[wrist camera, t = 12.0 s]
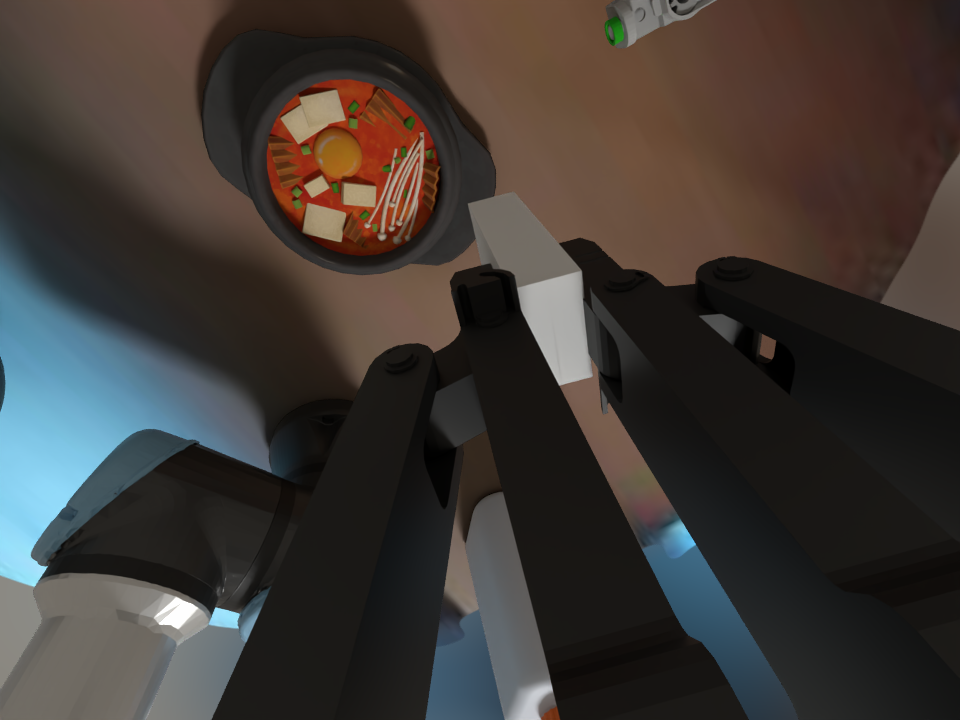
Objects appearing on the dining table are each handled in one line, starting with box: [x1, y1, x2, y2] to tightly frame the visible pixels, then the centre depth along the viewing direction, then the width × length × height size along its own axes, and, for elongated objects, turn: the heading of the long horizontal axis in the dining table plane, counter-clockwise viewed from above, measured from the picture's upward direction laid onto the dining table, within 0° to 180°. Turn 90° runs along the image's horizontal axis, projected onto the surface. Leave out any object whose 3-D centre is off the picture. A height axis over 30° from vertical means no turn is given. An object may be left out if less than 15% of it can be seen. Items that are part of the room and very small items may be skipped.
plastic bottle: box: [466, 492, 560, 720], centre depth 63 cm, size 15×15×28 cm
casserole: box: [201, 29, 496, 275], centre depth 40 cm, size 25×19×8 cm
